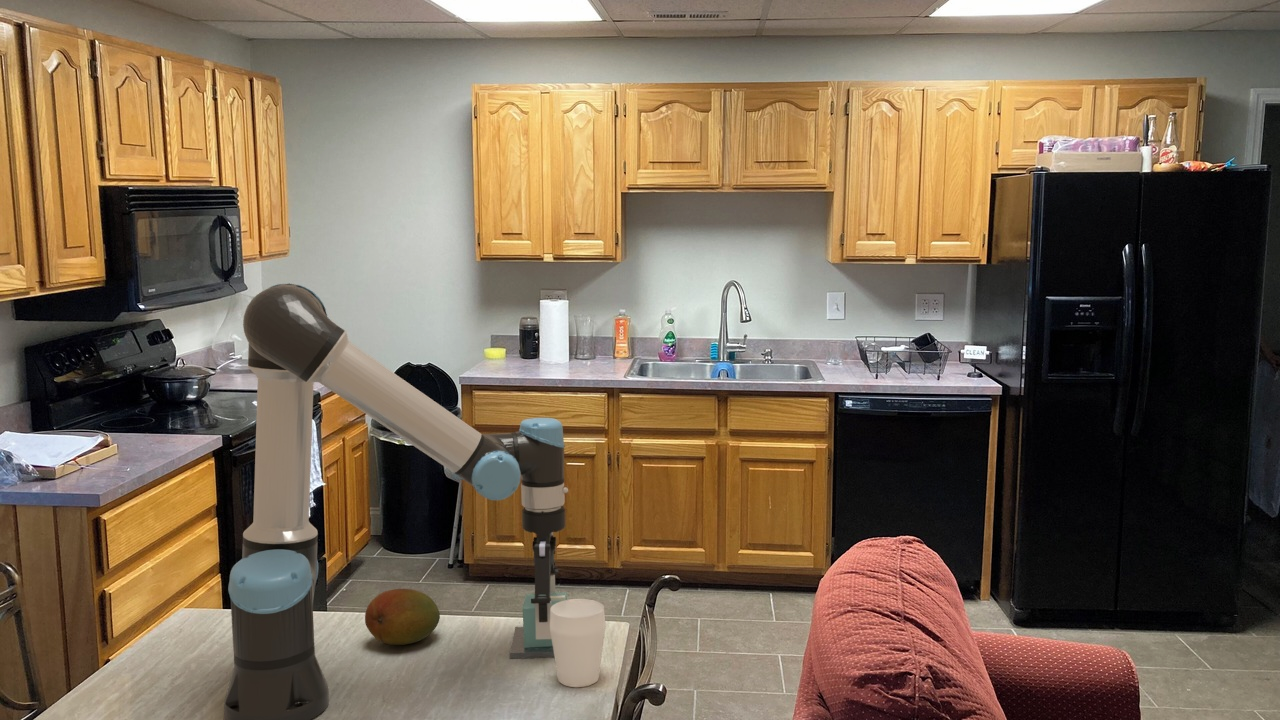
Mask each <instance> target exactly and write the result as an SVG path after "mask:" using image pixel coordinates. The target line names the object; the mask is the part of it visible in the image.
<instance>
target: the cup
mask: <svg viewBox="0 0 1280 720" xmlns="http://www.w3.org/2000/svg"><path fill="white" fill-rule="evenodd" d="M605 618H606V615H605V606H604V604H603V603H602V602H600V601H597V600H593V599H587V598H570V599H567V600H564V601H561V602H558V603H556V604H554V605H553V606H552V607H551V610H550V632H551V639H552V645H553V651H554V662H555V667H556V674H557V680H558V683H561V684H562V685H564V686H566V687H571V688H583V687H589V686H591V685H593V684H595V683H597V682H598V680H599V679H600V671H601V663H602V658H603V657H602V655H603V650H604V649H603V647H604V641H605V632H606V619H605Z"/></svg>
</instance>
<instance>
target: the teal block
mask: <svg viewBox="0 0 1280 720" xmlns="http://www.w3.org/2000/svg"><path fill="white" fill-rule="evenodd" d="M567 592H568V591H567ZM567 592H555V593H550V598H551V607H552V606H553V605H554V604H556V603H558V602H561V601H564V600H568V593H567ZM539 596H546V595H539ZM534 598H535V593H527V594H526V593H525V596H524V601H523V604H522V605H523V606H522V625H523V626H522V627H523V630H524V648H528V647H549V646H553V645H552V639H536V622H535V604H531V599H534Z"/></svg>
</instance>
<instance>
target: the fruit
mask: <svg viewBox="0 0 1280 720" xmlns="http://www.w3.org/2000/svg"><path fill="white" fill-rule="evenodd" d="M440 619H441V614H440V609H439V607H438V605H437V604H436V602H435V601H434V600H433V599H432V598H431V597H430V596H429V595H428V594H426V593H424V592H421V591H419V590H415V589H411V588H409V589H408V588H397V589H395V588H394V589H390V590H386V591H383V592H381V593H379V594H378V595H376V596H375V597H373V599H372V600H371V601H370V602H369V604H368V605H367V607H366V610H365V613H364V622H365V626H366V628H367V630H368V632H369V633H370V634H371V636H373V638H375V639H376V640H378V641H379V642H381V643H383V644H387V645H394V646H404V645H410V644H414V643H417V642H419V641H422V640H423V639H425V638H427V637H428V636H430V634H431V633H432V632H434V631H435V629H436V628H437V626H438V624H439V622H440Z"/></svg>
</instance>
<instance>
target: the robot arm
mask: <svg viewBox="0 0 1280 720" xmlns="http://www.w3.org/2000/svg"><path fill="white" fill-rule="evenodd" d="M242 326H243V333H244V336H245V338H246V340H247V342H248V354H247V356H248V357H247V358H248V361H247V363H248V364H247V368H248V369H249V370H250V371H251V372H252V373H253V374H254V375H255V376H256V378H257V390H256V391H257V394H256V425H255V427H256V429H255V454H254V455H255V456H254V457H255V458H254V459H255V461H254V463H255V464H254V486H253V487H254V489H253V491H254V493H253V520H252V521H253V522H252V523H251V524H250V525H249V526H248V527H247V528H246V529H245V530H244V531H243V533H242V553H241V554H242V555H241V556H242V557H241V559H240V560H239V561H237V562H236V563H235V564H234V565H233V566H232V568H231V570H230V572H229V573H230V574H229V580H228V581H229V582H228V588H227V589H228V594H229V598H230V612H231V613H230V614H231V629H232V648H233V649H232V650H233V651H232V652H233V670H232V673H231V677H230V679H229V684H228V687H227V692H226V694H225V698H224V702H223V709H224V711H223V713H224V714H223V715H224V720H312V719H314V718H316V717H318V716H319V715H321V714H322V713H323V712H324V711H325V710H326V709H327V707H328V706H329V703H330V693H329V685H328V682H327V681H326V677H325V676H324V673H323V670H322V668H321V666H320V663H319V662H318V659H317V656H316V650H315V649H316V648H315V630H314V597H315V596H314V595H315V589H316V583H317V580H318V575H319V562H318V536H319V533H318V529H317V528H316V527H315V526H314V525H313V524H312V523H311V522H310V520H309V519H310V517H309V516H310V490H311V465H312V463H311V462H312V436H313V435H312V433H313V431H312V430H313V410H314V409H313V407H314V386H315V385H314V384H315V383H319V384H321V385H322V386H323V387H325V388H327V389H328V390H329V391H331V392H332V393H334V394H336V395H337V396H339V397H340V398H341V399H343V400H344V401H346V402H348V403H349V404H351V405H352V406H353V407H355V408H356V409H358V410H359V411H361V412H362V413H364V414H365V415H367V416H368V417H370V418H371V419H373V420H374V421H376V423H379V424H380V425H382V426H383V427H385V428H386V429H387V430H390V431H391V432H392V433H394V435H396V436H398V437H400V438H401V439H403V440H404V441H406V442H407V443H409V444H410V445H412V446H413V447H415V448H416V449H418V450H419V451H420V452H422V453H424V454H425V455H427V456H428V457H429V458H432V459H433V460H434V461H436V462H437V463H439V464H440V465H442V466H443V467H445V468H446V469H447V470H449V471H451V475H452V477H453V478H454V479H455V480H463V481H464V482H466V483H468V484H470V485H471V486H472V487H473V488H474V490H475V491H476V493H478V494H479V495H480V496H482V497H483V498H485V499H487V500H490V501H501V500H502V501H503V500H505V499H508V498H509V497H511V496H512V495H513V494H514V493H515V492H516V491H517V490H518V487H519V486H520V491H521V492H520V493H521V498H520V499H521V506H522V507H524V508H523V509H521V510H522V511H521V513H522V514H521V517H522V518H521V519H522V523H521V524H522V529H523V530H524V531H525V532H528V533H533V534H535V535H536V536H533V541H532V552H533V565H534V594H535V598H534V599H531V604H535V622H536V639H551V632H550V610H551V598H550V593H556V575H557V574H559V567H555V566H556V562H555V554H556V545H557V537H556V536H554V533H557V532H560V531H563V529H565V527H566V508H565V507H564V505H565V502H566V501H565V499H566V497H565V494H567V493H569V489H568V487H566V486H565V442H564V441H565V440H564V429H563V423H562V422H561V421H559V420H558V419H556V418H551V417H533V418H526V419H523V420H521V422H520V425H519V429H518V431H514V432H504V433H481V432H479V430H477V429H475V428H474V427H472V426H470V425H469V424H467V423H466V422H465V421H464V420H462V419H461V418H459V417H457V416H456V415H455V414H454V413H452V412H451V411H449V410H448V409H446V408H445V407H444V406H442V405H441V404H439V403H438V402H436V401H434V399H432V398H430V397H429V396H428V395H426V394H425V393H424V392H422V391H420V390H419V389H417V388H416V387H415V386H413V385H411V383H409V382H407V381H406V380H404V378H402V377H400V376H399V375H397V374H396V373H395V372H393V371H392V370H390V369H389V368H388V367H386V366H385V365H383V364H382V363H381V362H379V361H377V360H376V359H374V358H373V357H371V356H370V355H369V354H367V353H366V352H365V351H363V350H361V349H360V348H359V347H357V346H356V345H354V344H353V343H352V342H350V341H349V338H348V333H347V331H346V330H345V329H343V328H342V327H340V326H339V325H337V324H336V323H335V322H334V321H332V319H331V318H329V317H328V313H327V309H326V307H325V305H324V303H323V301H322V300H321V298H320V297H319V296H318V295H317V293H315V292H314V291H312V290H311V289H310V288H307V287H306V286H303V285H300V284H295V283H289V282H288V283H277V284H275V285H271V286H270V287H267V288H266V289H264V290H262V291H260V292H259V293H257V294H256V295H255V296H253V298H252V299H251V301H250V302H249V303H248V304H247V307H246V309H245V311H244V315H243V322H242ZM520 483H521V484H520ZM539 595H546V596H539Z"/></svg>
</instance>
